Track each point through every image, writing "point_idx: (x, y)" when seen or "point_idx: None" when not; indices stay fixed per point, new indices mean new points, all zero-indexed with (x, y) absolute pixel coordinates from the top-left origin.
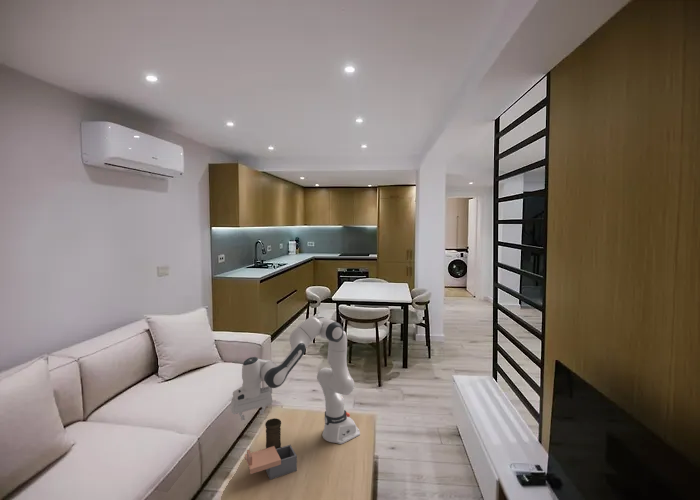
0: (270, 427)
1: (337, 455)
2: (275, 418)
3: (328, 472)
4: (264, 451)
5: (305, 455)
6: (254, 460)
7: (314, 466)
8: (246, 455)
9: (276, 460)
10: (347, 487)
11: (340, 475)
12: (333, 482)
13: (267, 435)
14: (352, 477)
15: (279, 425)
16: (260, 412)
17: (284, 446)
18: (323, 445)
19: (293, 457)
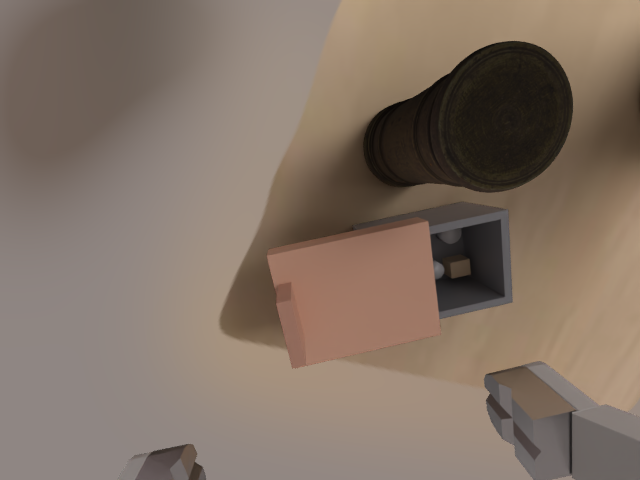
0: (468, 184)
1: (637, 230)
2: (541, 48)
3: (568, 310)
4: (371, 255)
5: (525, 196)
6: (316, 313)
7: (535, 269)
8: (275, 265)
9: (420, 335)
10: (592, 383)
11: (597, 332)
12: (563, 356)
13: (412, 159)
14: (626, 349)
15: (541, 170)
16: (522, 454)
17: (475, 216)
18: (617, 150)
19: (494, 304)
